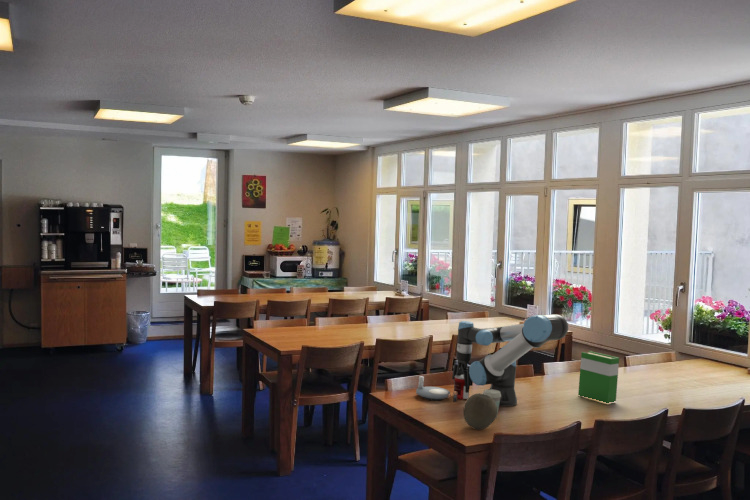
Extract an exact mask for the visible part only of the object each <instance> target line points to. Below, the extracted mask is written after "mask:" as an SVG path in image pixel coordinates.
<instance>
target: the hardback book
mask: <svg viewBox="0 0 750 500" xmlns="http://www.w3.org/2000/svg"><path fill="white" fill-rule="evenodd" d="M619 364H620V357H617V356H613V355H610V354H604V353H600V352H599V353H598V352H597V351H596V352H594V351H592V350H588V352H584V351H581V355H580V366H579V367H580V369H579V381H578V382H579V383H578V392H577V393H578V395H580V396H584V397H588V398H592V399H596V400H599V401H603V402H606V403H609V402H614V401H617V391H618V389H617V388H618V381H619V380H618V379H619V377H618V376H619ZM578 395H577V396H578Z"/></svg>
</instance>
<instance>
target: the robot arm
mask: <svg viewBox="0 0 750 500" xmlns="http://www.w3.org/2000/svg"><path fill="white" fill-rule="evenodd" d="M523 322H524V323H519V324H513V325H506V326H505V325H504V326H497V327H488V328H487V327H486V328H478V327H475V325H474V322H472V321H467V320H462V321H459V323H458V328H457V344H456V351H457V352H456V355H455V356H456V358H455V359H456V360H453V364H454V365H453V369H452V370H453V371H452V377H451V378H452V380H453V382H454V381H455V375H464V381H465V385H464V392H463V399H465V400H468V398H469V397H470V387H471V386H474V385H476V386H483V387H484V386H485V385H490V387H489V389H493V390H498V391H500V393H501V397H500V403H499V407H500V406H501V407H513V406H516V405H517V404H518V398H517V394H516V390H515V387H516V386H515V383H516V374H517V372H516V370H517V360H519V359H520V358H522V356H524V355H525V354H527V353H528V352H530V350H532V349H533V348H535V349H537V348H541V347H542V346H543V345H545V344H546V343H547V342H549V341H558V340H561V339H563V338H564V337H566V335H567V333H568V331H569V324H568V321H567V319H566V318H565V316H562V315H561V314H557V313H556V314H555V313H553V314H535V315H531V316H529V317H528V318H527V319H526V320H525V321H523ZM505 342H507V343H506V344H505V345H503V346H502V347H500V349H498V350H497V351H496V352H494V353H493V354H491V353H490V354H487V355H485V356H484V357H483V358H481V359H480V360H475V361H472V362H471V364H470V361H471V360H472V351H473V344H477V345H480V346H489V345H491V344H495V343H505ZM473 383H474V385H473Z"/></svg>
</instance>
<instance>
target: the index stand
mask: <svg viewBox="0 0 750 500" xmlns="http://www.w3.org/2000/svg"><path fill="white" fill-rule="evenodd" d="M452 394H453V397H452V398H453V399H452V402H453V403H457V402H458V401H457V400H458V399H457V394H458V392H457V391H454V390H453V393H452ZM422 398H423V399H424V400H427V401H432V402H436V401H439V402H440V401H442V400H443V399H433V398H426V397H422Z"/></svg>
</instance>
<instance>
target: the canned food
mask: <svg viewBox="0 0 750 500" xmlns="http://www.w3.org/2000/svg"><path fill="white" fill-rule="evenodd" d="M454 377H455V381H454V380H453V382H454V384H453V385H454V386H453V392H454V391H457V392H458V394H457V400H463V401H464V400H465V401H466V399H463V392H464V385H465V381H464V375H463V374H461V375H455V376H454Z"/></svg>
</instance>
